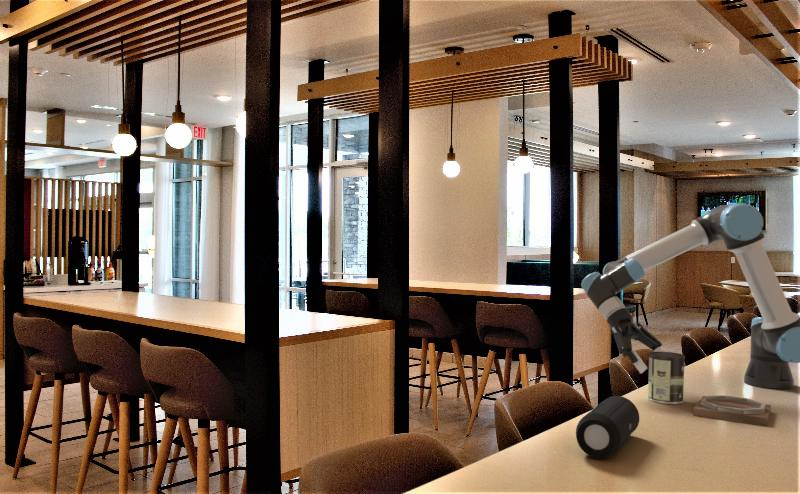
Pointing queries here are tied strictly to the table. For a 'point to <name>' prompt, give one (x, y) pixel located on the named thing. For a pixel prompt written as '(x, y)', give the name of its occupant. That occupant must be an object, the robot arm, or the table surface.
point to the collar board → (733, 409)
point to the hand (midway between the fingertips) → (656, 368)
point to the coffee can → (666, 377)
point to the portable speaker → (607, 426)
